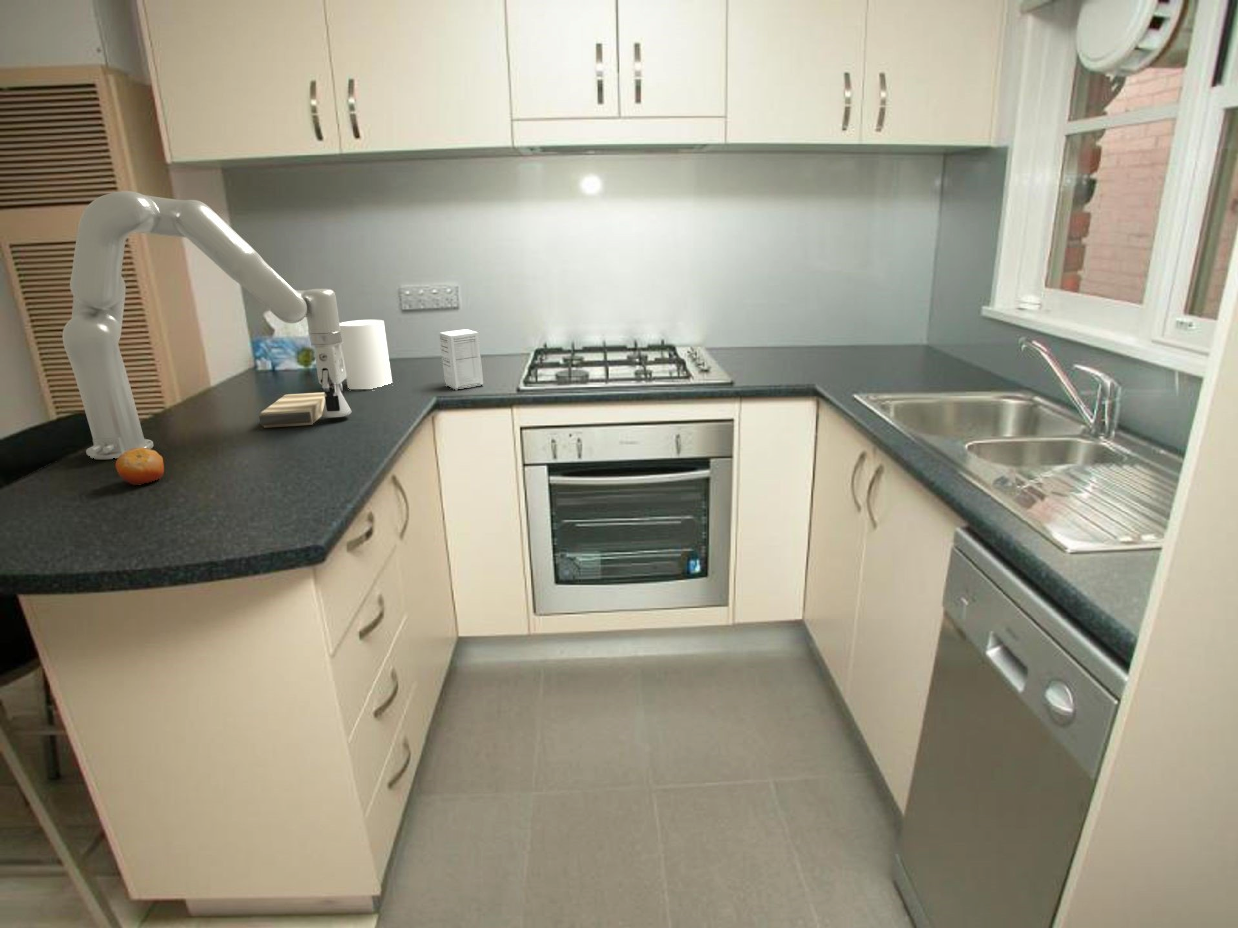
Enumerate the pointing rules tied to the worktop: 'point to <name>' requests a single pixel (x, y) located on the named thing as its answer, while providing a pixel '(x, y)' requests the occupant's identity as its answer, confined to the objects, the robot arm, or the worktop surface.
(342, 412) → the flask
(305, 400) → the zigzag patterned box
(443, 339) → the supplement box
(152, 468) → the fruit
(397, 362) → the worktop surface
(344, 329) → the canister
